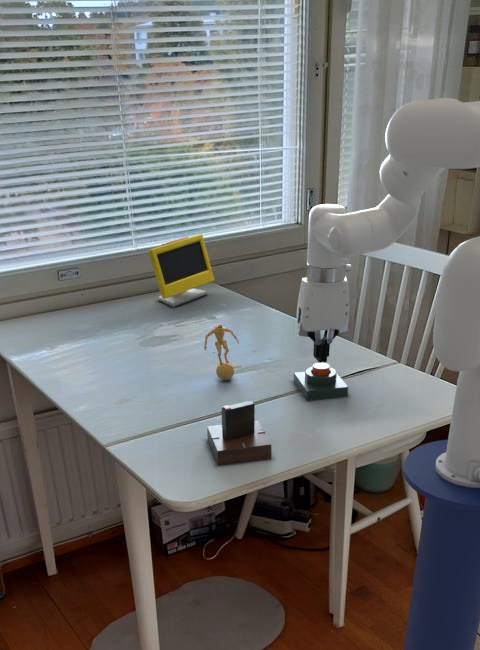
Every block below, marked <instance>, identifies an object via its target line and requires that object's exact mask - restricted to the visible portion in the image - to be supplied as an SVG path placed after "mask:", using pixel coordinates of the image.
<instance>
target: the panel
mask: <svg viewBox="0 0 480 650" xmlns="http://www.w3.org/2000/svg"><path fill="white" fill-rule="evenodd" d="M206 435H207V436H206V437H207V442H208V444H209V447H210V449H211V452H212V454H213V457H214V459H215V461H216V464H217V466H227V465H232V464H233V465H234V464H241V463H249V462H258V461H265V460H266V461H267V460H272V443H271V441H270V440H269V437H268V436H267V434H266V431H265V430H264V429H263V427H262V425H261V423H260V421H259V420H255V433H252V434H248V435H245V436H241V437H237V438H233V439H229V440H225V439H224V438H223V437H222V424H215V425H208V426H206Z"/></svg>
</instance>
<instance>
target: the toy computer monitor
mask: <svg viewBox="0 0 480 650" xmlns="http://www.w3.org/2000/svg"><path fill="white" fill-rule="evenodd" d="M147 252H148V255H149V258H150V262H151V266H152V268H153V272H154V274H155V278H156V282H157V285H158V289H159V292H160V295H159V296H157V298H158V301H159V302H161V303H164V304H166V305H168V306H170V307H172V308H174V307H177V306H180V305H182V304H185V303H188V302H190V301H193V300H195V299H198V298H201V297H204V296H206V295H207V290H203V289H199V288H198V287H201V286H204V285H206V284H208V283H209V284H210V283H212V282H214V281H215V276H214V273H213V268H212V264H211V262H210V261H211V260H210V257H209V254H208V249H207V247H206V243H205V239H204V235H203V233H200V234H199V233H198V234H196V235H194V236H185V237H180V238H178V239H174V240H171V241H168V242H165V243H161V246H157V247H154V248H151V249H148V251H147ZM197 288H198V289H197Z"/></svg>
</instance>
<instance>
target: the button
mask: <svg viewBox="0 0 480 650" xmlns="http://www.w3.org/2000/svg"><path fill="white" fill-rule="evenodd" d="M312 366H313V371H312V373H313V374H314V375H318V376H325V375H328V374H329V371H330V367H331V365H330V364H329V363H328V362H322V363H319V362H315V363H313V364H312Z"/></svg>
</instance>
